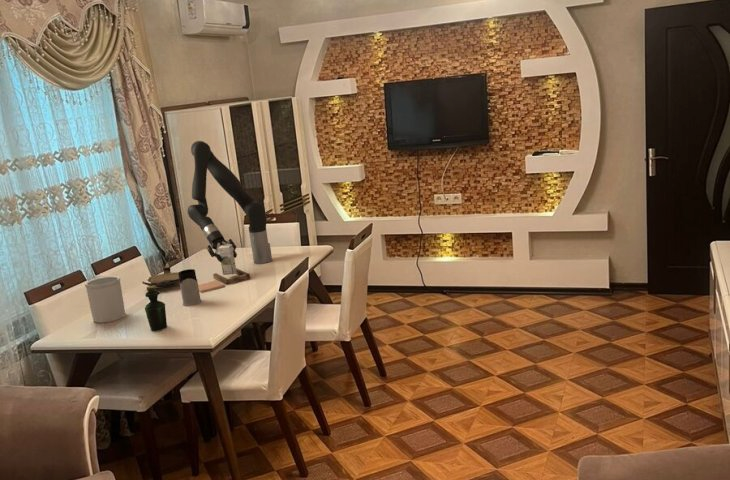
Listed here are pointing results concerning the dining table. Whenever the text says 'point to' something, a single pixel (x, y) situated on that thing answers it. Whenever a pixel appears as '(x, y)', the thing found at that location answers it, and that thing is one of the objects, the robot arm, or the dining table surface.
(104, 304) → the utensil holder
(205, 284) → the terracotta pad
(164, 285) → the oil lamp
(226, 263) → the syrup box
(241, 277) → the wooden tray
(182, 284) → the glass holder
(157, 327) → the potion bottle
